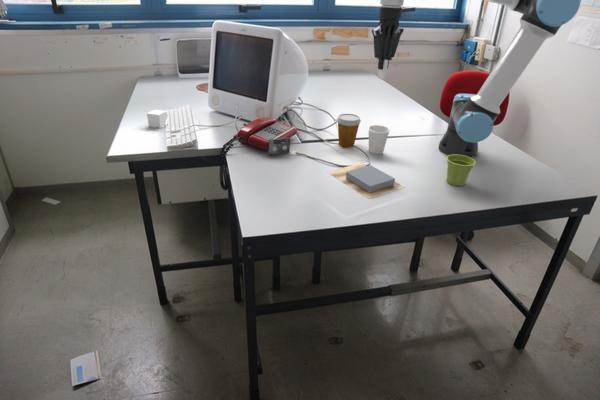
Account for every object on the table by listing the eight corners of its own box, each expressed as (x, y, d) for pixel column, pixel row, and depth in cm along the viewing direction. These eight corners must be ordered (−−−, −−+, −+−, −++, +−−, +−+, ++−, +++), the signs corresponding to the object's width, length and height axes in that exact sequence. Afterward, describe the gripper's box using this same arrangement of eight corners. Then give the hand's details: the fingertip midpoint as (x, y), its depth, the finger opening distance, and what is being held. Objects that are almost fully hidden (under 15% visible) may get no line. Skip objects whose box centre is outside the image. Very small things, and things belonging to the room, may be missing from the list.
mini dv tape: (288, 151, 161) (288, 136, 158) (289, 152, 160) (289, 138, 157) (268, 153, 158) (268, 138, 155) (269, 154, 157) (269, 140, 154)
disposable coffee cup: (343, 139, 174) (345, 111, 168) (362, 145, 169) (365, 117, 163) (330, 145, 168) (332, 116, 162) (349, 151, 163) (352, 122, 157)
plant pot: (436, 181, 143) (441, 158, 138) (449, 173, 148) (454, 151, 144) (461, 191, 137) (467, 168, 133) (474, 182, 143) (480, 160, 138)
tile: (346, 171, 139) (370, 186, 130) (370, 165, 144) (395, 178, 136) (345, 178, 140) (369, 193, 131) (369, 171, 145) (393, 185, 137)
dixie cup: (389, 151, 164) (393, 127, 159) (381, 158, 158) (385, 134, 153) (369, 146, 168) (373, 123, 163) (361, 153, 162) (364, 129, 157)
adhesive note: (160, 128, 178) (158, 115, 175) (148, 126, 179) (146, 113, 176) (168, 124, 183) (166, 110, 180) (156, 122, 184) (154, 109, 181)
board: (326, 174, 144) (326, 172, 144) (361, 164, 152) (361, 162, 152) (368, 201, 129) (369, 199, 128) (404, 189, 137) (404, 187, 136)
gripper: (397, 4, 141) (387, 74, 153) (368, 5, 135) (361, 77, 147) (413, 7, 136) (401, 78, 148) (384, 7, 130) (375, 82, 141)
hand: (381, 78), depth 147 cm, fingers closed
